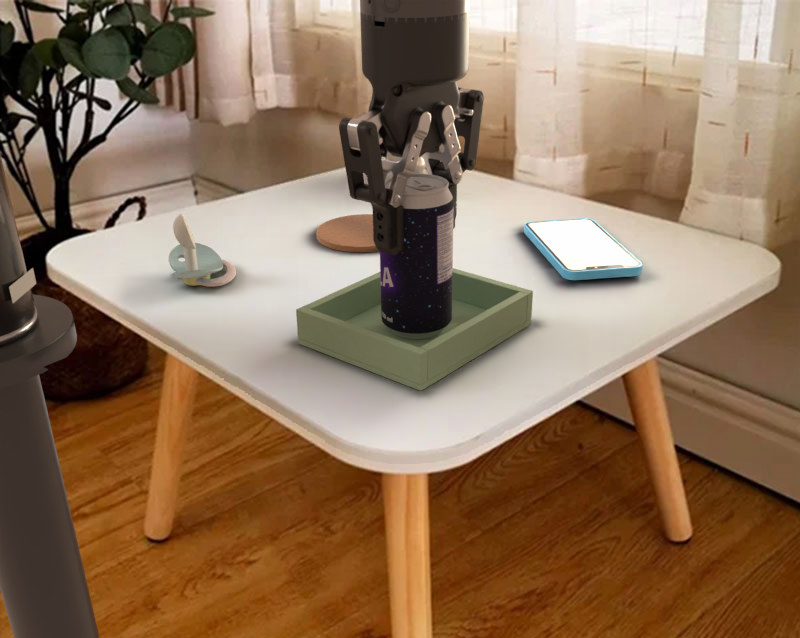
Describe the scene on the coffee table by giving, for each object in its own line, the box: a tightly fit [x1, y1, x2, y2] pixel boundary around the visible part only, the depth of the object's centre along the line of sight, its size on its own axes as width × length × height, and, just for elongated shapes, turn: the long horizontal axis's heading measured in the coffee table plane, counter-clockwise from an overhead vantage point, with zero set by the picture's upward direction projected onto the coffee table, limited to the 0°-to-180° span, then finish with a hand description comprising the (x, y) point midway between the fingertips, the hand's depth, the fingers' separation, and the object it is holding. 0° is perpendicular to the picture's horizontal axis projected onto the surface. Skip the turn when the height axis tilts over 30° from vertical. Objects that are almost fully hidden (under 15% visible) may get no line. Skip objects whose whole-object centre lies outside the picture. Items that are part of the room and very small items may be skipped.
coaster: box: [316, 213, 380, 253], centre depth 97 cm, size 10×10×1 cm
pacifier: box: [168, 213, 237, 288], centre depth 86 cm, size 7×6×6 cm
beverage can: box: [379, 174, 454, 339], centre depth 73 cm, size 6×6×12 cm
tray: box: [295, 267, 534, 392], centre depth 76 cm, size 15×13×3 cm
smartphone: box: [523, 217, 644, 281], centre depth 92 cm, size 8×1×15 cm
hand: (416, 239), depth 73 cm, fingers closed on beverage can, 5 cm apart
